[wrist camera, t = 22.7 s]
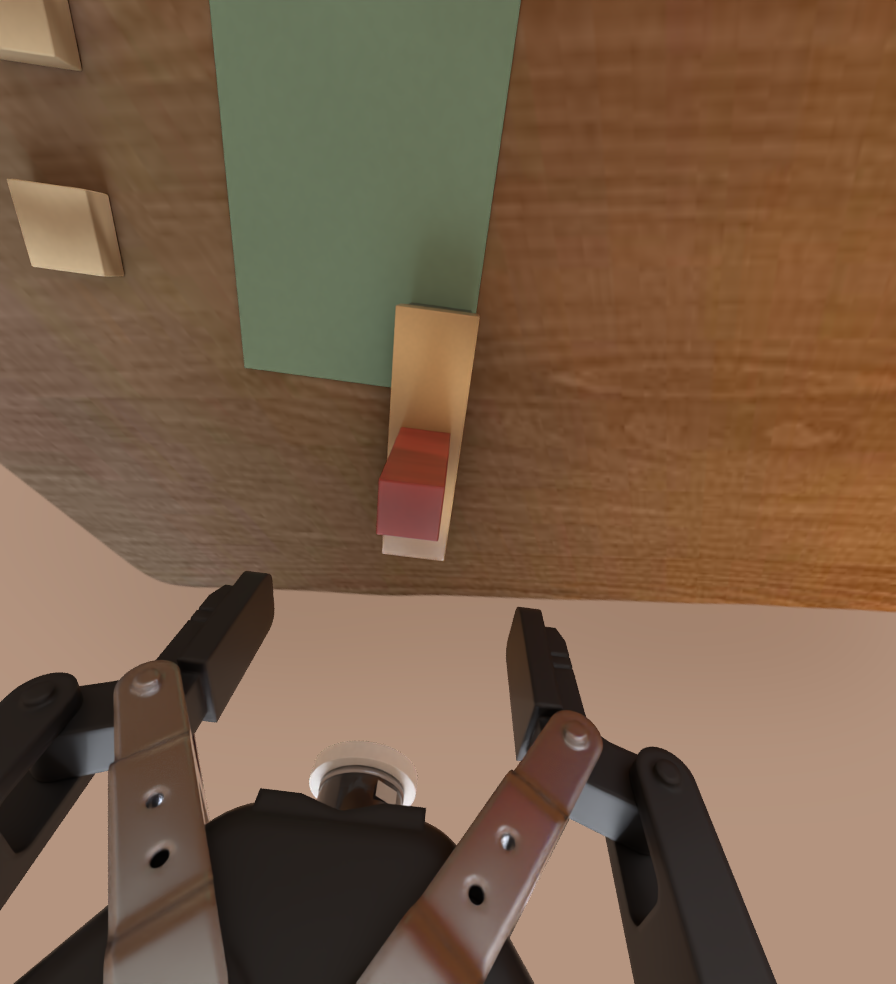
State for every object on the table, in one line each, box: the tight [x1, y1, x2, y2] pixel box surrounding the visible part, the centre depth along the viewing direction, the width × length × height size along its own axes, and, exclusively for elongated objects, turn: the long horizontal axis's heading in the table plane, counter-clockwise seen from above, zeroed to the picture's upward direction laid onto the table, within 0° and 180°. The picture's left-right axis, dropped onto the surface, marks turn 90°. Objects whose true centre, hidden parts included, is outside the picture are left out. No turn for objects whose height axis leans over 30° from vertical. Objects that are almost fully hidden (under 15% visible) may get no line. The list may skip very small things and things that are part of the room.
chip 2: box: [7, 178, 124, 276], centre depth 23 cm, size 4×4×2 cm
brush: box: [376, 302, 480, 561], centre depth 24 cm, size 16×4×10 cm, turn 173°
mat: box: [209, 0, 521, 387], centre depth 23 cm, size 18×14×1 cm
